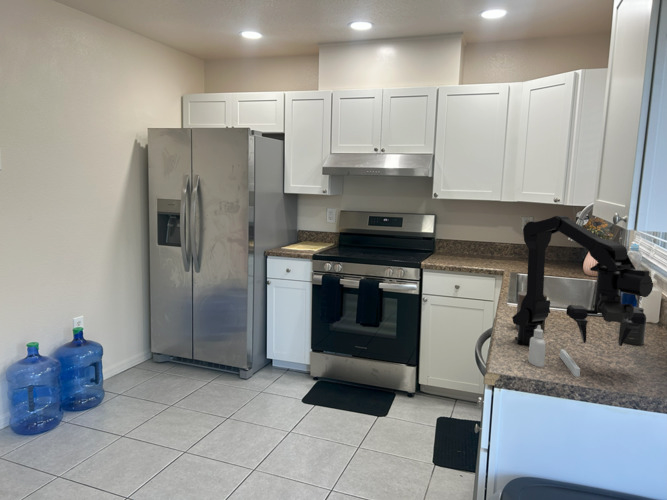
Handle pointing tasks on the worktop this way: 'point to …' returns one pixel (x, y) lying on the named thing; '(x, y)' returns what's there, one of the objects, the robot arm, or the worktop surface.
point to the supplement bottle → (636, 333)
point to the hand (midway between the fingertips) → (602, 344)
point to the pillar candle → (520, 298)
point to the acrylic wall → (570, 363)
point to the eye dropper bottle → (537, 348)
